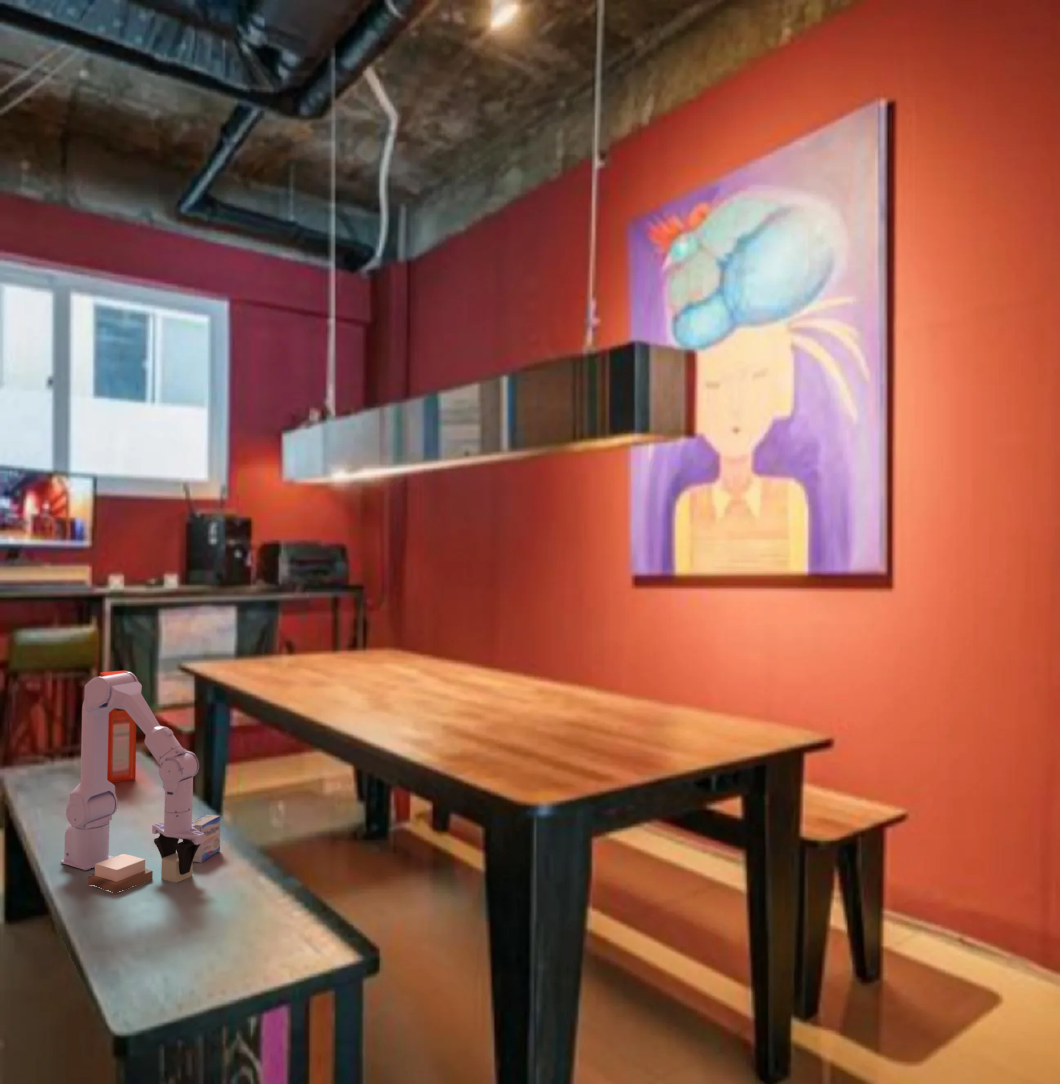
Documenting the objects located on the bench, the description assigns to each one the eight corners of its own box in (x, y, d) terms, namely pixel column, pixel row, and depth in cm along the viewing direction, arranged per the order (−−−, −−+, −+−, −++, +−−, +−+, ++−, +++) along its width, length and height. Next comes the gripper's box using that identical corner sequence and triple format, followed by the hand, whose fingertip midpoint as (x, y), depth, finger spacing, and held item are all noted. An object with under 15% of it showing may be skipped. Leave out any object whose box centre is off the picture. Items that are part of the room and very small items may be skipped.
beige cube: (161, 878, 184) (161, 858, 184) (178, 872, 188) (178, 852, 188) (175, 882, 182) (175, 862, 182) (192, 876, 186) (192, 855, 186)
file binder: (106, 783, 257) (109, 679, 257) (97, 771, 271) (100, 672, 271) (135, 779, 261) (137, 677, 262) (125, 767, 275) (127, 670, 276)
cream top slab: (94, 875, 180) (95, 864, 180) (123, 865, 186) (123, 853, 186) (116, 881, 177) (116, 870, 177) (144, 870, 183) (145, 859, 183)
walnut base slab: (88, 888, 180) (88, 876, 180) (125, 874, 188) (125, 863, 188) (115, 896, 175) (115, 884, 175) (152, 882, 183) (152, 871, 183)
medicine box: (201, 863, 193) (202, 825, 194) (184, 861, 194) (184, 824, 194) (220, 851, 201) (221, 815, 201) (203, 850, 202) (204, 814, 202)
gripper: (216, 809, 185) (214, 871, 185) (171, 799, 192) (170, 859, 192) (189, 818, 179) (188, 882, 179) (144, 807, 186) (143, 869, 186)
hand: (177, 870), depth 185 cm, fingers closed on beige cube, 4 cm apart
